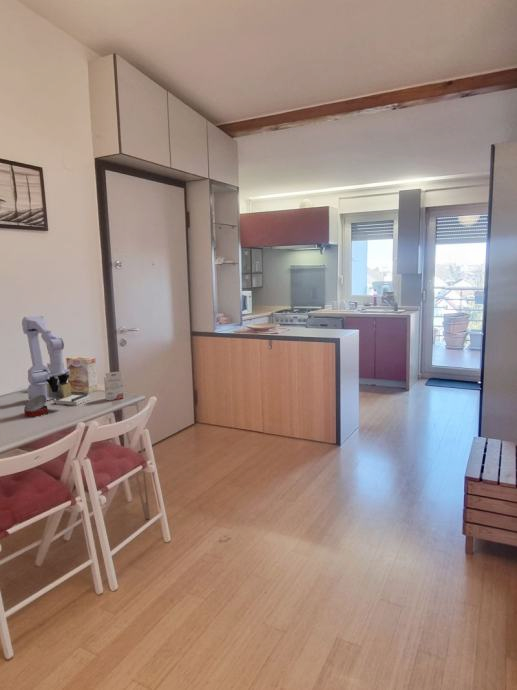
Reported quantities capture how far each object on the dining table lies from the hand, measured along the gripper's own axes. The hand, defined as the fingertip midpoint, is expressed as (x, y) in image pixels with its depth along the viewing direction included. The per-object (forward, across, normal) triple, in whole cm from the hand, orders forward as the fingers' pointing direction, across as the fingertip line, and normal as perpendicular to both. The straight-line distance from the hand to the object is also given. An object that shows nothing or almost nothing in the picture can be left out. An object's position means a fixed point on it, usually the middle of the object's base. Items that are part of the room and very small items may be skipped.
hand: (58, 390), depth 221 cm
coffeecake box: (+9, +31, +13) cm, 35 cm away
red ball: (+9, -11, +4) cm, 15 cm away
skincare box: (+9, +34, +34) cm, 49 cm away
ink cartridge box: (+9, +23, -15) cm, 29 cm away
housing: (+3, 0, 0) cm, 3 cm away
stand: (+9, +11, +3) cm, 15 cm away
